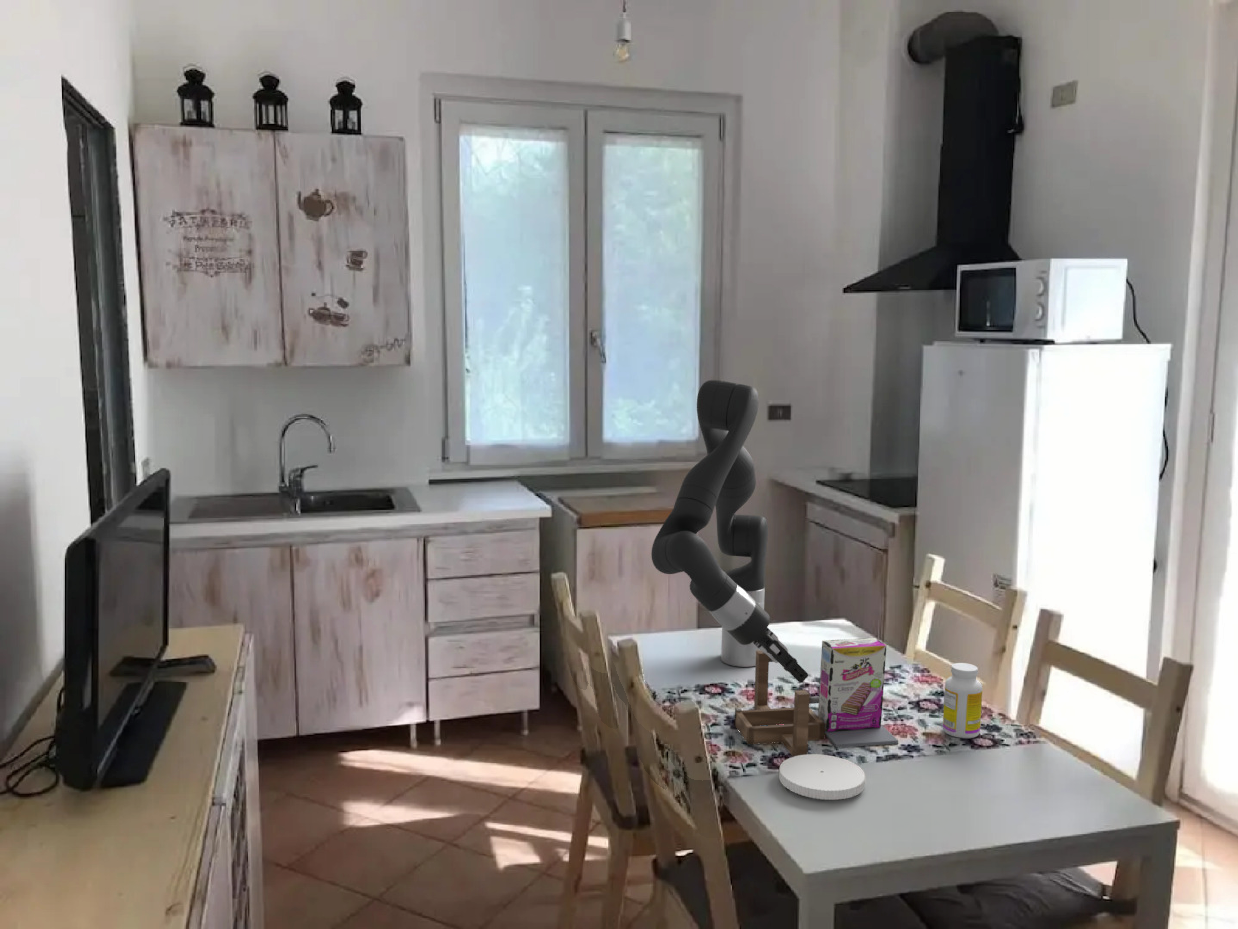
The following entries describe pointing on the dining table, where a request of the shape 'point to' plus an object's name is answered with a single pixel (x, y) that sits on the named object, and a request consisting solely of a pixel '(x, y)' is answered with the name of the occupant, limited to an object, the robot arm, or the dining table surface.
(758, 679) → the walnut holder
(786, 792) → the dining table surface
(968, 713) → the supplement bottle
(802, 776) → the plastic lid
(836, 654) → the candy bar box
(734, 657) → the robot arm
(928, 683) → the dining table surface
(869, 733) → the slate mat
